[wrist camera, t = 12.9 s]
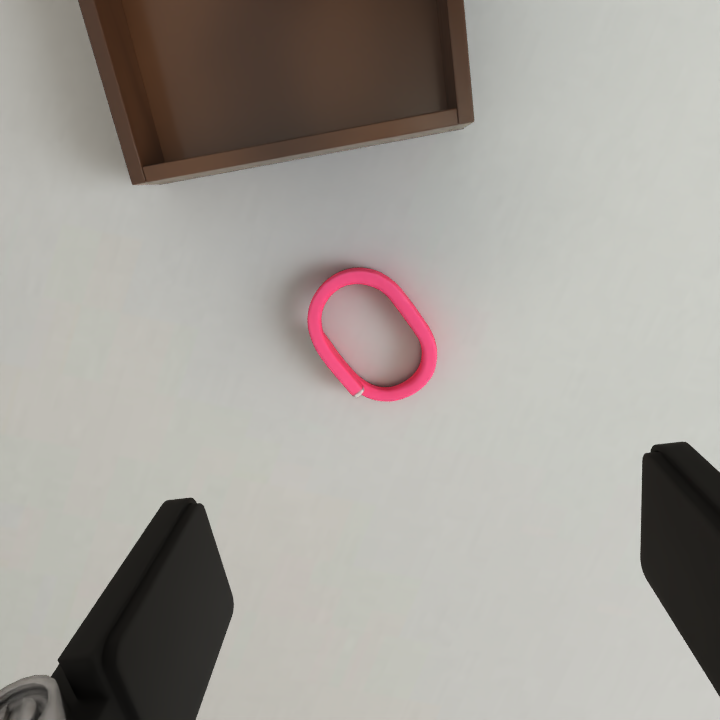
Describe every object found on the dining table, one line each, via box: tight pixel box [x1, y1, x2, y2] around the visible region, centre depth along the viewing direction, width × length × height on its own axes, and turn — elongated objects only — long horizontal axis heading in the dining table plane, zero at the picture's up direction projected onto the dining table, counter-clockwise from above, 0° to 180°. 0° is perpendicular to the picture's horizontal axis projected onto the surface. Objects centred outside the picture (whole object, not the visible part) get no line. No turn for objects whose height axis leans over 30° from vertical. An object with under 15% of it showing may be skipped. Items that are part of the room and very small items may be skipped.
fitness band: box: [307, 268, 437, 401], centre depth 29 cm, size 8×6×2 cm
